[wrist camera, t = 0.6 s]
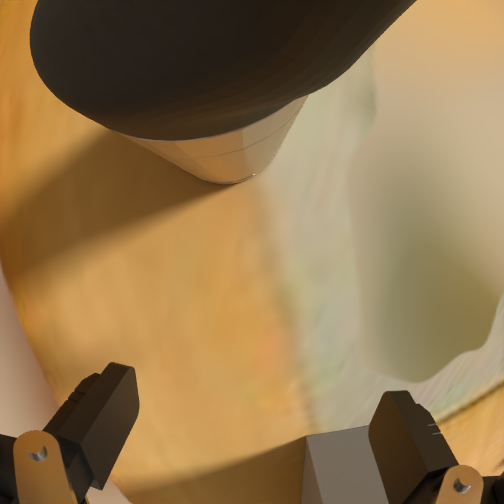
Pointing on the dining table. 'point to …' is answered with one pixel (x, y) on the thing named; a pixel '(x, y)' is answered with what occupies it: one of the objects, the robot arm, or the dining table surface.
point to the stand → (341, 469)
